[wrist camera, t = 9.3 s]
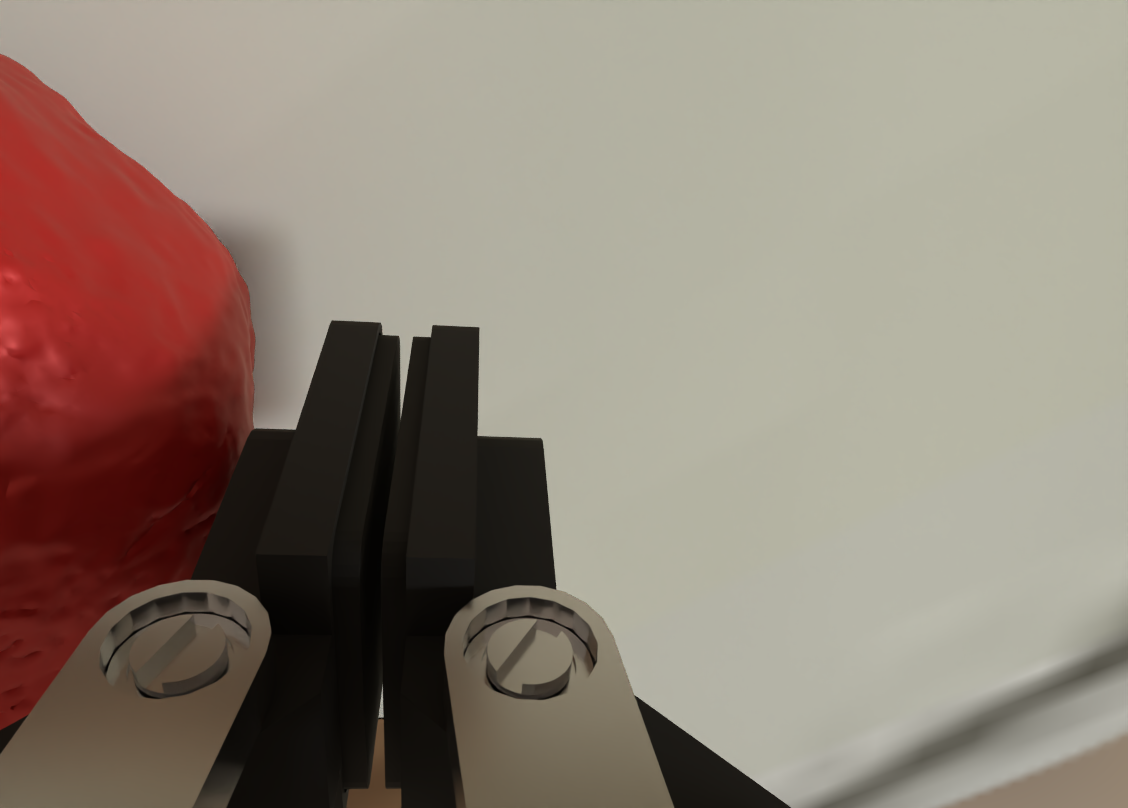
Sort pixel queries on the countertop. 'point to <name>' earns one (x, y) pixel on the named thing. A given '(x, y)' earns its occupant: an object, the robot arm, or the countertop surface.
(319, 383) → the robot arm
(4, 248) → the red tomato
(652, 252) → the countertop surface
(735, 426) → the countertop surface
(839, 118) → the countertop surface
